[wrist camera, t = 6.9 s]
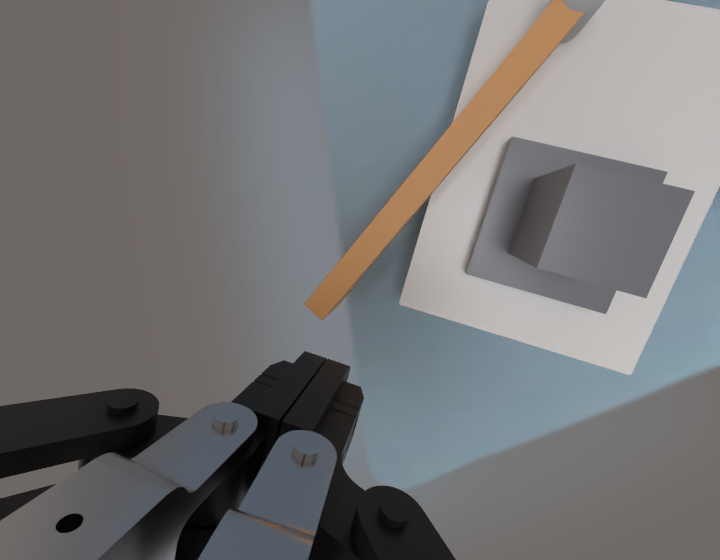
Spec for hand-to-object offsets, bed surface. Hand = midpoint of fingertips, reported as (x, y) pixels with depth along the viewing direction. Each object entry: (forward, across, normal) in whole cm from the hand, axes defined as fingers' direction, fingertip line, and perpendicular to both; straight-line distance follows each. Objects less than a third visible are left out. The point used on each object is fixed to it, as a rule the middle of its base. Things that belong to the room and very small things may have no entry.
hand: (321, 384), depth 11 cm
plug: (+13, -7, -7) cm, 16 cm away
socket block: (+13, -7, -9) cm, 17 cm away
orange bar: (+9, -1, -8) cm, 12 cm away
